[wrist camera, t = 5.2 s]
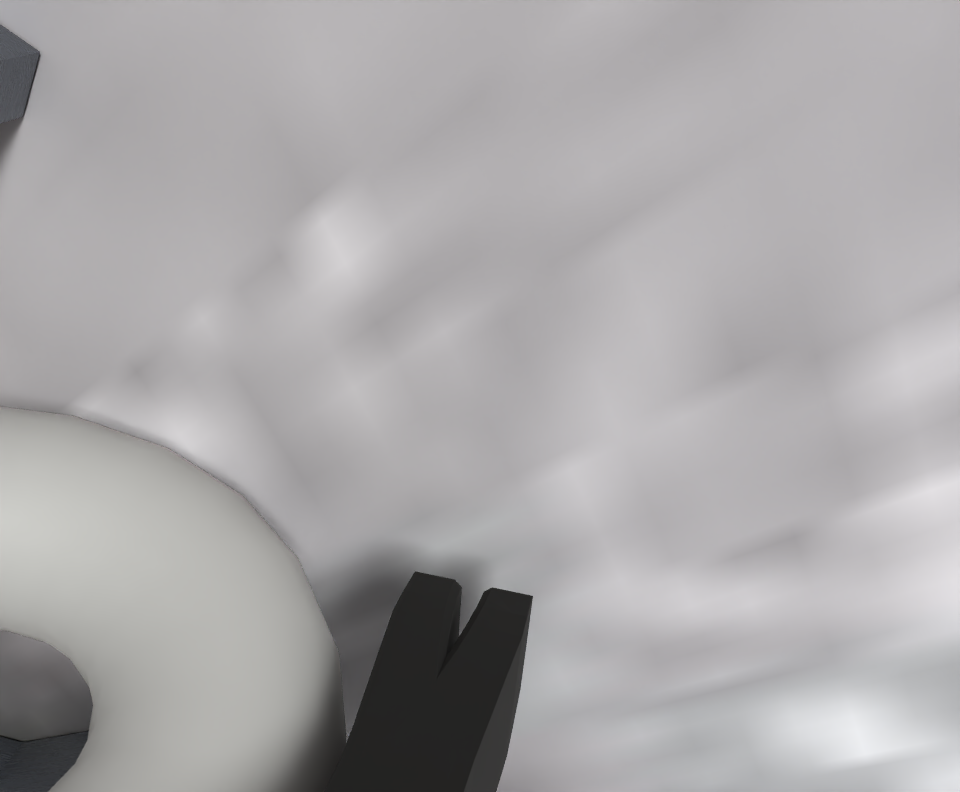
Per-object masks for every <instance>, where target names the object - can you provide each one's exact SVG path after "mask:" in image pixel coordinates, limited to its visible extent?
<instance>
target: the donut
mask: <svg viewBox="0 0 960 792" xmlns="http://www.w3.org/2000/svg"><path fill="white" fill-rule="evenodd" d="M0 631H9V632H12V633H16V634H19V635H22V636H25V637H29V638H32V639H35V640H39V641H42V642H45V643H48V644H49V645H51V646H52V647H53V648H55V649H56V650H58V651H59V652H61V653H62V654H64V655H65V656H67V657H68V658H69V659H70V660H71V661H72V663H73V664H74V666H75V667H76V669H77V670H78V672H79V673H80V674H81V676H82V677H83V679H84V680H85V682H86V683H87V685H88V686H89V688H90V693H91V697H92V702H93V709H92V715H91V721H90V727H89V733H88V738H87V742H86V744H85V746H84V748H83V750H82V751H81V753H80V755H79V757H78V759H77V761H76V763H75V764H74V765H73V766H72V767H71V768H70V769H69V770H68V771H67V773H66V774H65V775H64V776H63V777H62V778H61V779H60V780H59V781H58V782H57V783H56V784H55V785H54V786H53V787H52V788H51V789H50V790H49V791H48V792H324V791H325V789H326V787H327V785H328V783H329V781H330V778H331V776H332V774H333V772H334V770H335V768H336V766H337V764H338V762H339V760H340V758H341V755H342V753H343V751H344V748H345V746H346V743H347V742H346V729H345V716H344V703H343V690H342V677H341V664H340V654H339V651H338V649H337V647H336V644H335V642H334V640H333V638H332V635H331V633H330V631H329V628H328V626H327V624H326V621H325V619H324V617H323V614H322V612H321V610H320V607H319V605H318V603H317V600H316V598H315V596H314V593H313V591H312V589H311V586H310V584H309V582H308V579H307V577H306V575H305V572H304V570H303V568H302V566H301V564H300V561H299V559H298V557H297V556H296V555H295V554H294V553H293V552H292V551H291V550H290V548H289V547H288V546H287V545H286V544H285V543H284V542H283V541H282V539H281V538H280V537H279V536H278V535H277V534H276V533H275V532H274V530H273V529H272V528H271V527H270V526H269V525H268V524H267V522H266V521H265V520H264V519H263V518H262V517H261V516H260V515H259V513H258V512H257V511H256V510H255V509H254V508H253V507H252V506H251V504H250V503H249V502H248V501H247V500H246V499H245V498H244V497H243V495H241V494H240V493H238V492H237V491H235V490H233V489H232V488H230V487H229V486H227V485H226V484H224V483H222V482H221V481H219V480H218V479H216V478H215V477H213V476H211V475H210V474H208V473H207V472H205V471H204V470H202V469H200V468H199V467H197V466H196V465H194V464H193V463H191V462H189V461H188V460H186V459H185V458H183V457H182V456H180V455H178V454H177V453H175V452H174V451H172V450H171V449H169V448H166V447H163V446H160V445H157V444H154V443H151V442H149V441H146V440H143V439H140V438H137V437H134V436H131V435H128V434H125V433H122V432H119V431H116V430H114V429H111V428H108V427H105V426H102V425H99V424H96V423H93V422H90V421H87V420H84V419H81V418H78V417H76V416H72V415H64V414H56V413H48V412H41V411H33V410H25V409H17V408H10V407H2V406H0Z"/></svg>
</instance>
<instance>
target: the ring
mask: <svg viewBox="0 0 960 792" xmlns="http://www.w3.org/2000/svg"><path fill="white" fill-rule="evenodd" d="M39 54H40V52H39V51H38V50H36V49H35V48H33V47H32V46H30V45H29V44H28V43H26V42H25V41H23V40H22V39H20V38H19V37H18V36H16V35H15V34H13V33H12V32H10V31H9V30H8V29H6V28H5V27H3V26H2V25H0V123H3V122H7V121H10V120H13V119H17V118H20V117H23V113H24V109H25V106H26V102H27V98H28V94H29V91H30V87H31V83H32V80H33V76H34V72H35V68H36V65H37V61H38V57H39ZM88 733H89V731H87V732H81V733H75V734H69V735H64V736H58V737H52V738H46V739H40V740H34V741H28V742H19V741H15V740H11V739H8V738H4V737H0V792H48V791H49V790H50V789H51V788H52V787H53V786H54V785H55V784H56V783H57V782H58V781H59V780H60V779H61V778H62V777H63V776H64V775H65V774H66V773H67V771H68V770H69V769H70V768H71V767H72V766H73V765H74V764H75V763H76V761H77V759H78V757H79V755H80V753H81V751H82V750H83V748H84V746H85V744H86V742H87V738H88Z"/></svg>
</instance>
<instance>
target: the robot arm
mask: <svg viewBox="0 0 960 792" xmlns="http://www.w3.org/2000/svg"><path fill="white" fill-rule="evenodd" d="M461 590H462V587H461V586H460V585H459V584H458V583H457V582H456V580H453V579H449V578H444V577H439V576H434V575H429V574H425V573H420V572H415V573H414V574H413V576H412V578H411V579H410V581H409V583H408V584H407V586H406V588H405V589H404V591H403V593H402V595H401V597H400V598H399V600H398V602H397V604H396V606H395V608H394V610H393V613H392V615H391V618H390V621H389V624H388V627H387V630H386V632H385V635H384V638H383V641H382V644H381V647H380V650H379V652H378V655H377V658H376V661H375V664H374V667H373V670H372V673H371V676H370V679H369V682H368V684H367V687H366V690H365V693H364V696H363V699H362V702H361V705H360V708H359V711H358V714H357V716H356V719H355V722H354V725H353V728H352V731H351V733H350V736H349V738H348V741H347V743H346V746H345V748H344V751H343V753H342V755H341V758H340V760H339V762H338V764H337V766H336V768H335V770H334V772H333V774H332V776H331V778H330V781H329V783H328V785H327V787H326V789H325V791H324V792H496V790H497V787H498V784H499V780H500V777H501V774H502V770H503V767H504V764H505V760H506V757H507V752H508V748H509V743H510V738H511V733H512V728H513V723H514V718H515V713H516V708H517V703H518V698H519V693H520V688H521V680H522V673H523V666H524V658H525V651H526V643H527V636H528V628H529V621H530V614H531V606H532V599H533V596H530V595H526V594H521V593H516V592H511V591H506V590H502V589H497V588H490V589H488V590H486V591H484V593H483V595H482V597H481V599H480V601H479V603H478V605H477V607H476V609H475V611H474V613H473V614H472V616H471V618H470V620H469V622H468V623H467V625H466V627H465V628H464V630H463V632H462V633H461V635H460V636H459V638H458V635H459V620H460V605H461Z"/></svg>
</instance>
